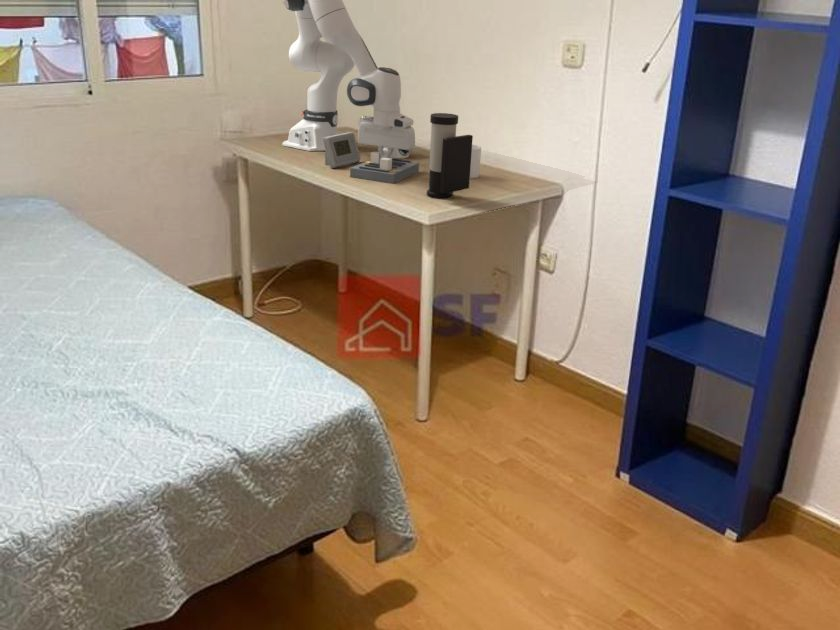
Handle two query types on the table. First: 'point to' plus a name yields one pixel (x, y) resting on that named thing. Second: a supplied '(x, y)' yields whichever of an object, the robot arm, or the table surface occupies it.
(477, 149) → the mug
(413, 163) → the switch unit
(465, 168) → the light fixture
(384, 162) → the slider
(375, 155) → the slider
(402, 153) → the mug
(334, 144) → the digital clock
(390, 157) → the slider
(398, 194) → the table surface
